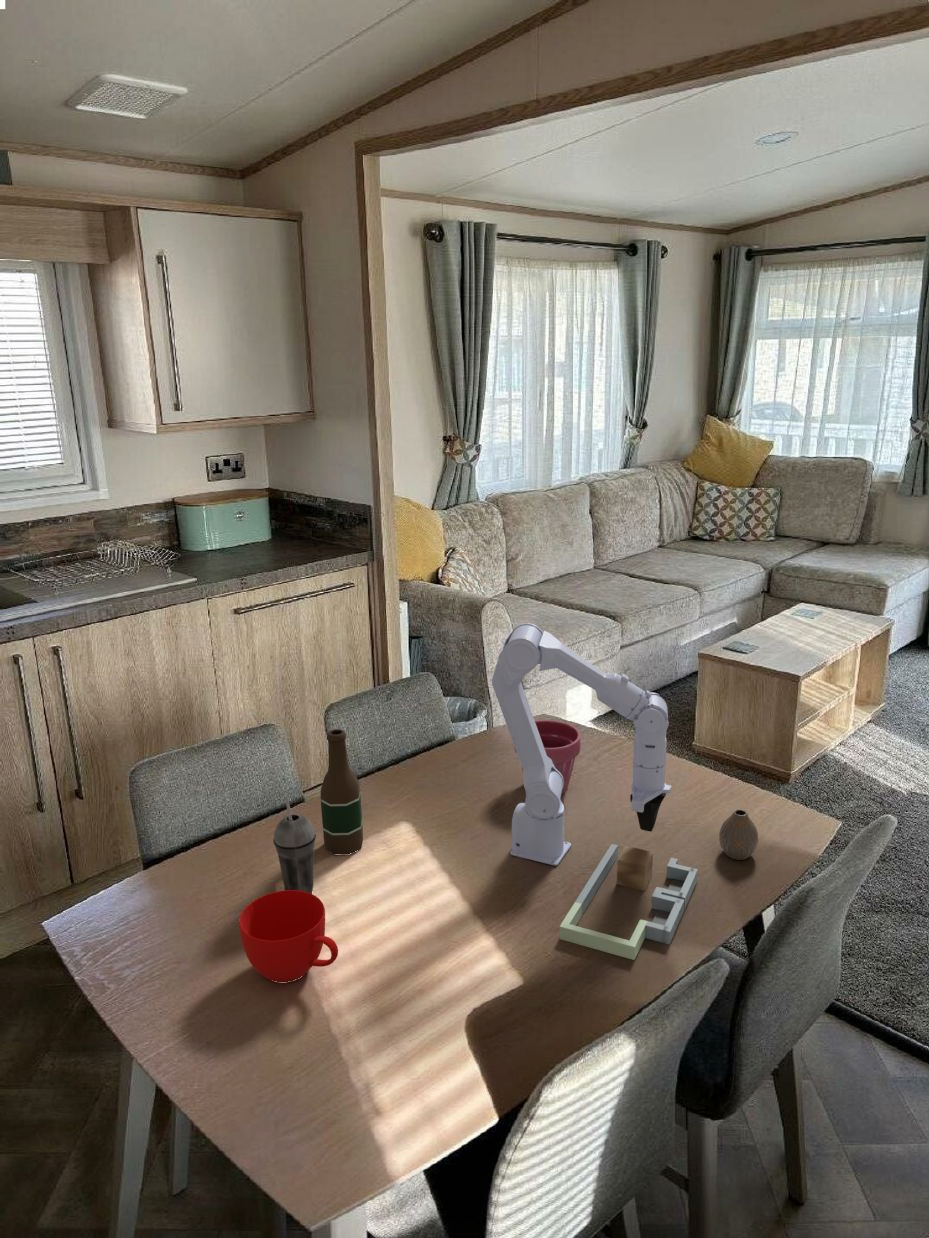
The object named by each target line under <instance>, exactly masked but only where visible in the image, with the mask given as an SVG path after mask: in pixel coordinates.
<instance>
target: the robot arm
mask: <svg viewBox="0 0 929 1238" xmlns="http://www.w3.org/2000/svg"><path fill="white" fill-rule="evenodd" d="M538 665H539V669H538V671H539V672H543V671H549V670H553V669H557V670H559V671H561V672H563V673H565V674H566V675H568V676H570V677H571V678H574V679H575V680H577V681H579V682H580V683H582V684H584V685H586V686H587V687H589V688H590V689H593V690H594V691H595V695H596V698H597V700H598V701H599V702H601V703H602V704H603V705H605V706H607V707H609V708H610V709H611V710H613V711H615V712H616V713H618V715H621V716H622V717H624V718H625V719H627V720H630V721H632V722H633V725H634V728H635V734H634V736H633V752H632V753H633V757H632V780H631V785H630V787H631V794H630V796H629V797H630V798H629V800H630V803H631V807H630V808H631V811H633V812H635V813H636V816H637V819H638V820H637V821H638V825H639V828H640V830H641V831H644V832H645V831H646V832H652V831H653V829H654V828H655V825H656V821H657V817H658V814H659V810H660V806H661V804H662V803H663V801H664V799H665V797H666V796H667V794H670V792H671V791H672V785H670V784H667V783H666V763H667V742H668V741H667V737H666V736H667V730H668V728H669V724H670V722H669V715H668V714H669V713H668V704H667V703H666V701H665V699H664V698H663V696H661V695H660V694H659V693H656V692H652V691H649V690H648V689H647V690H643V689H642V688H641V687H639V686H637V685H635V684H634V683H632V682H631V681H630V680H629V676H628V675H626V674H625V673H622V674H621V675H620V674H619V673H617V672H609V673H605V672H603V671H601V670H600V669H599V668H597V667H596V666H594V665H593V664H592V663H591V662H589V661H587V660H586V659H585V658H583V656H581V655H579V654H578V653H577V652H576V651H574V650H572V649H571V648H569V647H568V646H567V645H565V644H564V643H563V642H561V641H560V640H559V639H557V638H556V637H555V636H554V635H553V634H551V633H550V632H548V631H547V630H544V631H543V630H542V629H541V628H540V627H539V626H537V625H536V624H533V623H528V622H524V623H520V624H518V625H516V626H515V627H514V628H513V630H512V631H511V632H510V634H509V635H508V636H507V638H506V639H505V642H504V643H503V646H502V648H501V651H500V652H499V654H498V657H497V661H496V665H495V667H494V668H495V669H494V671H493V675H492V679H491V685H492V688H493V690H494V691H493V692H494V693H495V697H496V700H497V702H498V704H499V708H500V710H501V713H502V716H503V718H504V721H505V724H506V727H507V731H508V733H509V736H510V737H511V738H510V739H511V741H512V744H513V746H514V747H515V749H514V751H515V750H516V752H517V753H516V752H515V753H516V754H517V757H518V760H519V763H520V767H521V766H522V767H521V770H522V769H523V772H522V780H523V787H524V790H525V801H524V802H520V803H518V804H517V805H516V806H515V809H514V811H513V814H512V819H511V850H510V853H509V854H510V855H511V856H515V857H519V858H522V859H526V860H531V861H535V862H539V863H543V864H545V865H546V864H547V865H552V866H555V867H556V866H558V865H559V864H560V863H561V861H562V860H563V858H564V856H565V855H566V854H567V853H568V852H569V850H570V848H571V847H572V843H571V842H568V841H565V805H564V804H563V802H562V800H561V798H562V794H561V793H562V789H563V787H564V779H563V776H562V774H561V773H560V772H559V771H558V770H557V769H556V768H555V767H554V765H553V762H552V760H551V759H550V758H549V757H548V756H547V755H546V752H545V749H544V746H543V743H542V740H541V737H540V735H539V732H538V729H537V726H536V723H535V721H536V720H535V718H534V715H533V712H532V709H531V707H530V704H529V701H528V698H527V696H526V695H527V694H526V692H525V690H524V687H523V686H524V685H523V683H522V681H523V680H524V678H525V676H526V675H527V674H529V673H530V672H532V671H533V670H534V669H535V668H536V667H537V666H538ZM514 747H513V748H514Z"/></svg>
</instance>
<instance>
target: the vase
mask: <svg viewBox="0 0 929 1238" xmlns="http://www.w3.org/2000/svg"><path fill="white" fill-rule="evenodd" d="M718 837H719V838H718V839H719V845H720V848H721V850H722V852H723V853H724V854H725V855H726V856H728V857H729V858H730V859H733V860H737V861H744V860H747V859H749V858H750V857H751V856H753V855H754V853H755V852H756V850H757V848H758V843H759V832H758V829H757V826H756V825H755V823H754V822H753V821H752V819H751V818H750V817H749V814H748V812H747V811H746V810H744V809H741V808H740V809H735V810H734V811H733V812H732V813H731V815H730V816H728V817H727V818H726V819H725V820H723V823H722V825H721V826H720V829H719V835H718Z"/></svg>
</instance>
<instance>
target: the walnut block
mask: <svg viewBox="0 0 929 1238" xmlns="http://www.w3.org/2000/svg"><path fill="white" fill-rule="evenodd" d="M616 860H617V863H616V864H617V867H616V884H617V885H620V886H624V887H627V888H631V889H632V888H633V889H636V890H639V891H645V890H646V888H647V886H648V884H649V882H650V881H651V878H652V877H653V866H654V865H653V863H654V861H653V860H654V852H653V851H650V850H646V849H642V848H637V847H632V846H628V845H625V846H624V848H623V850H622V851H621V853H620V855H619V856H618V857H617V859H616Z"/></svg>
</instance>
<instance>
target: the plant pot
mask: <svg viewBox="0 0 929 1238" xmlns="http://www.w3.org/2000/svg"><path fill="white" fill-rule="evenodd" d="M535 723H536V726H537V729H538V732H539V735H540V737H541V740H542V743H543V746H544V749H545V752H546V755H547V756H548V757H549V758H550V759H551V760H552V762H553V765H554V767H555V768H556V769H557V770H558V771H559V772H560V773H561V774H562V776H563V779H564V787H563V789H562V793H561V795H563V794H565V793H566V792H567V790H568V789H569V784H570V781H571V777H572V772H573V768H574V764H575V762H576V761H575V760H576V757H577V756H579V755H580V752H581V744H582V743H581V741H582V740H581V733H580V731H579V729H577V728H576V726H574V725H572V724H569V723H567V722H562V721H558V720H550V719H549V720H548V719H545V720H544V719H542V720H535ZM513 749H514V752H515V753H516V754H517V752H516V750H515V747H513ZM520 767H521V772H522V773H523V769H522V766H521V765H520Z"/></svg>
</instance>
